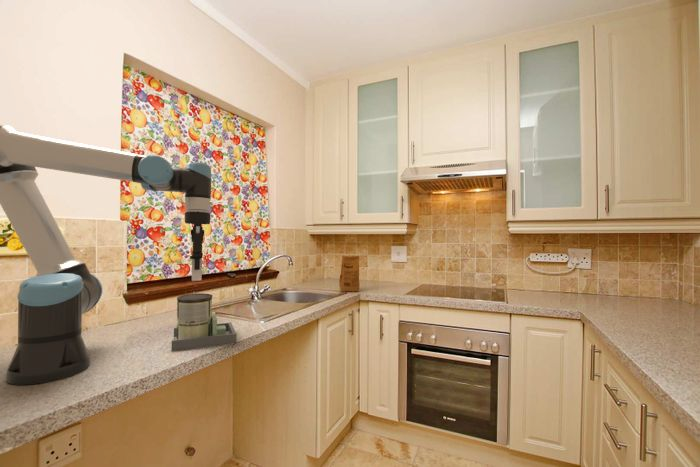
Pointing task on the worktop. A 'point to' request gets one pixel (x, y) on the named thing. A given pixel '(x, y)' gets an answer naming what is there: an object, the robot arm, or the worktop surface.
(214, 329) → the pusher
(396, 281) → the worktop surface
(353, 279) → the coffee package
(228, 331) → the grey tray
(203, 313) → the coffee can
